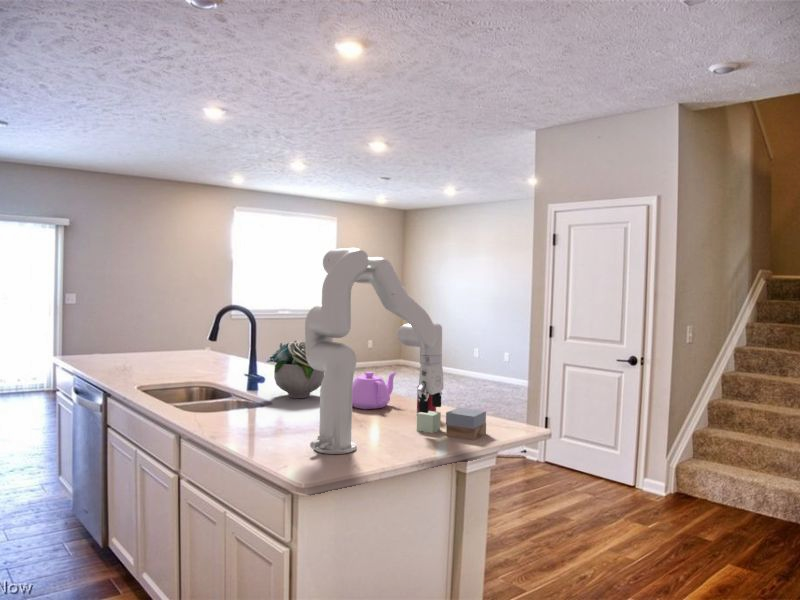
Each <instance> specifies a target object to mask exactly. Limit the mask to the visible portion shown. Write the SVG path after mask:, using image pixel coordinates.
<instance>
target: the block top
mask: <svg viewBox="0 0 800 600" xmlns="http://www.w3.org/2000/svg"><path fill="white" fill-rule="evenodd" d="M486 420H487V411H486V410H480V409H472V408H465V407H457V408H455V409H451V410H449V411H446V413H445V425H446V426H447V425H451V426H458V427H464V428H470V429H475V428H477V427H479V426H481V425H483V424H485V423H486V424H487V421H486Z"/></svg>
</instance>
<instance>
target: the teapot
mask: <svg viewBox="0 0 800 600" xmlns="http://www.w3.org/2000/svg"><path fill="white" fill-rule="evenodd" d="M397 373H398V371H397V370H396V371H394V372H391V373H390V374H389V376H388V379H387V384H386V382H385V380H384V379H383V378H382V377H381V376H379V375H374V372H373V371H365V372H364V375H358V376H356V377H355V379H353V388H352V408H353V407H354V408H358V409H362V408H364V409H363V410H369V409H374V410H376V409H381V408H384V407H386V406H387V405H388V404H389V403H390V400H391V394H392V393H393V390H394V378H395V376H396V374H397Z"/></svg>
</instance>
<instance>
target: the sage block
mask: <svg viewBox="0 0 800 600" xmlns="http://www.w3.org/2000/svg"><path fill="white" fill-rule="evenodd" d="M441 417H442V416H441V412H440V411H436V412H434V411H429V412H428V413H423V412H419V413H417V412H416V431H417V430H418V431H417V432H421V431H424V432H423V433H427V432H430V433H429V434H434V433H436V432H438V430H439V431H441Z"/></svg>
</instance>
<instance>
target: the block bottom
mask: <svg viewBox="0 0 800 600" xmlns="http://www.w3.org/2000/svg"><path fill="white" fill-rule="evenodd" d="M445 431H446V432H445V433H446V436H448V437H453V438H459V439H464V440H470V441H476V440H478V439H479V438H482V436H485V435H486V434H487V422H486V423H485V424H483V425H481V426H479V427H477V428H475V429H470V428H464V427H458V426H451V425H446V430H445Z"/></svg>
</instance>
